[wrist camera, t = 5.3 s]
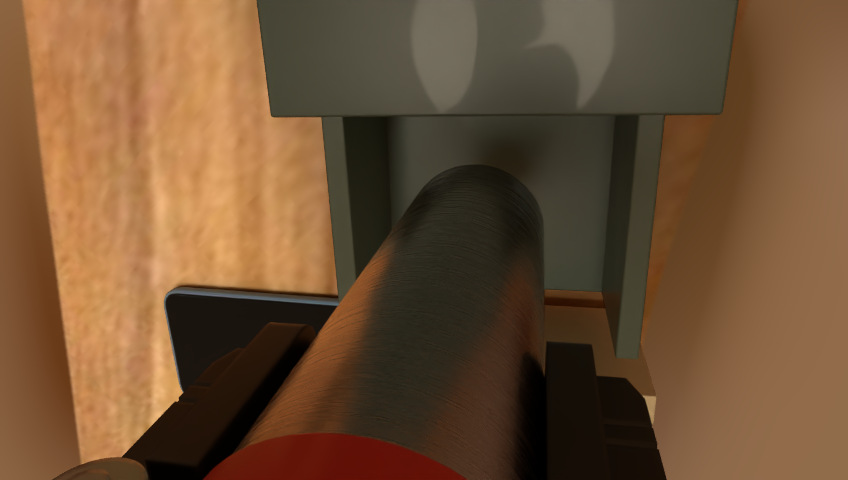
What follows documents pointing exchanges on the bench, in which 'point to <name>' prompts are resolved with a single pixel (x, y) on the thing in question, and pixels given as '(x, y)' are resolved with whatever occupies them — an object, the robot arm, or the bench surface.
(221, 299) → the smartphone
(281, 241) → the bench surface
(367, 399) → the spice tin
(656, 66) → the cabinet
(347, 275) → the drawer
